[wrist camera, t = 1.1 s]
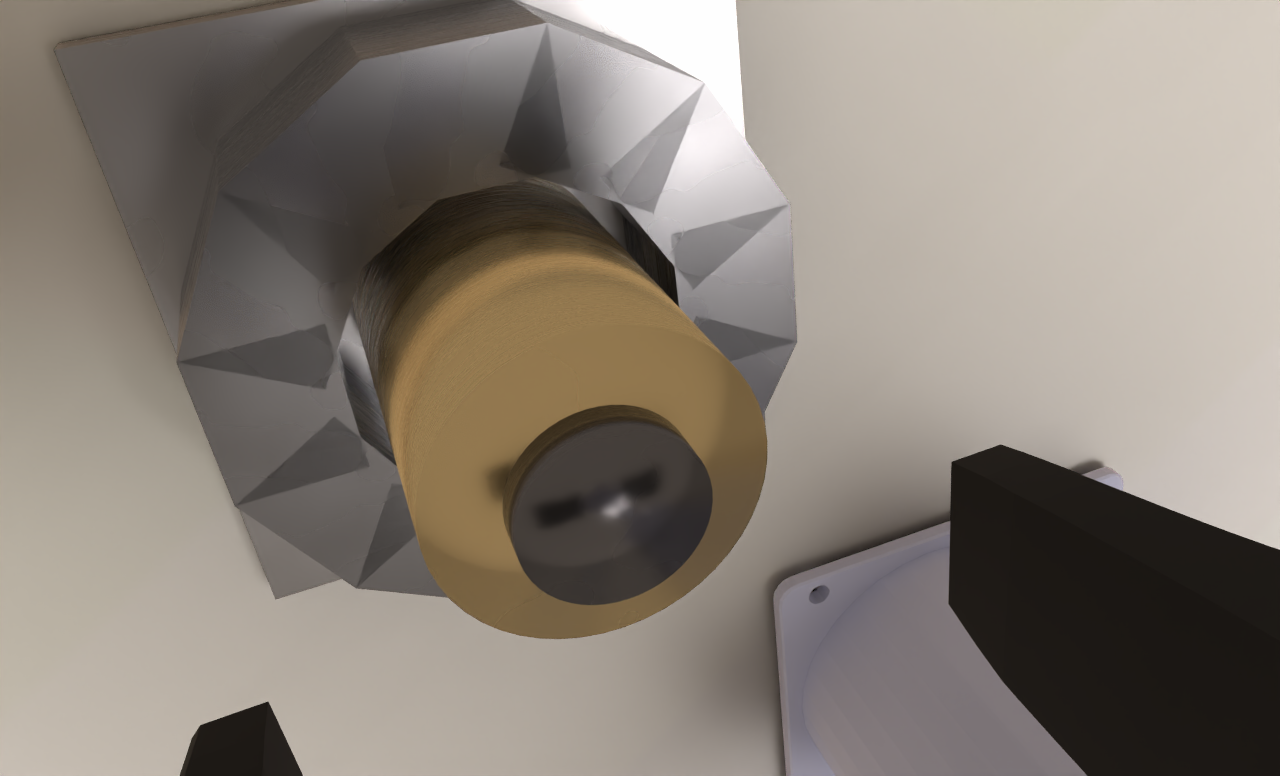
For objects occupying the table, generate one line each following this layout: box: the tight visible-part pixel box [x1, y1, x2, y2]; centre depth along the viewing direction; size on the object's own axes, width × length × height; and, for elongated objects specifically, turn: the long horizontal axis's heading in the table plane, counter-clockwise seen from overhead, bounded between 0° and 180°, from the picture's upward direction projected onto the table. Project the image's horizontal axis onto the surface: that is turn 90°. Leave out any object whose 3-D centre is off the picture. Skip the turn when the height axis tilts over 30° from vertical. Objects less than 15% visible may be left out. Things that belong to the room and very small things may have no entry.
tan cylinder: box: [353, 177, 767, 639], centre depth 15 cm, size 4×4×7 cm
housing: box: [54, 0, 797, 599], centre depth 17 cm, size 10×10×3 cm
